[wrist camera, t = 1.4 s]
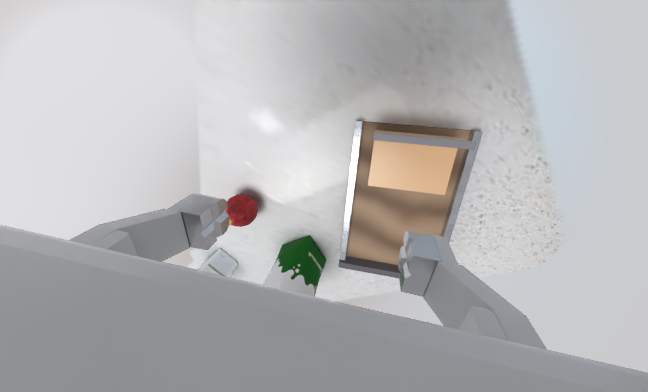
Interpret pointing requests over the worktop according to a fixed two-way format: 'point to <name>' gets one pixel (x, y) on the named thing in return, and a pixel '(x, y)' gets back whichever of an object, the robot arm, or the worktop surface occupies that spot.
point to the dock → (396, 203)
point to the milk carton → (297, 267)
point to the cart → (414, 161)
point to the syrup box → (219, 264)
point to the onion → (241, 210)
